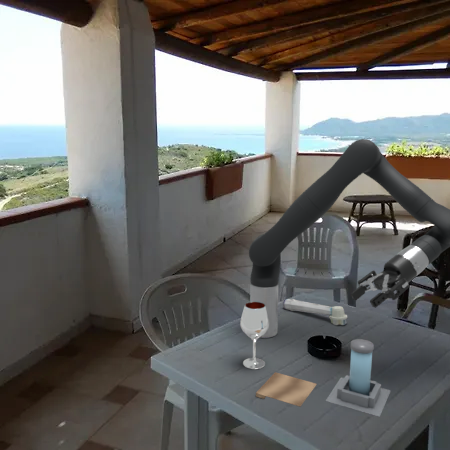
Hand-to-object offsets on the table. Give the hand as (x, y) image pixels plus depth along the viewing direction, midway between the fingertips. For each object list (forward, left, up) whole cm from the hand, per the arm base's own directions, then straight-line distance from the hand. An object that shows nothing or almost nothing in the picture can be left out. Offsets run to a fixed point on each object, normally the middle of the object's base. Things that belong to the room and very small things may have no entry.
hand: (362, 301), depth 121 cm
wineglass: (-29, -5, -23) cm, 37 cm away
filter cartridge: (+2, -8, -22) cm, 24 cm away
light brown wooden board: (-15, -14, -23) cm, 31 cm away
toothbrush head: (-26, +38, -24) cm, 52 cm away
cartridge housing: (+2, -8, -23) cm, 25 cm away
